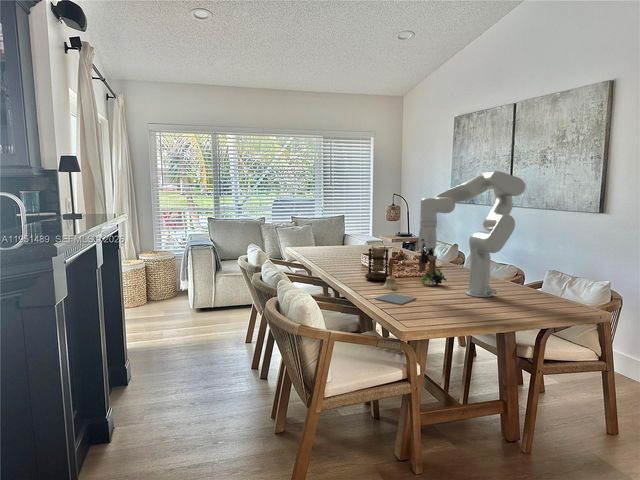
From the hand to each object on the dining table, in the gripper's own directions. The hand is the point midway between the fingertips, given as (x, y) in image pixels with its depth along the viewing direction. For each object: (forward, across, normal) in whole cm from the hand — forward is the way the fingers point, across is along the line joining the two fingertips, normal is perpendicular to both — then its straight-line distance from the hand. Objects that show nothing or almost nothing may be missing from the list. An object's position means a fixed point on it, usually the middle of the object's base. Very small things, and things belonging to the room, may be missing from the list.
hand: (427, 262), depth 198 cm
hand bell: (+18, -6, -24) cm, 31 cm away
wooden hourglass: (+18, -18, -40) cm, 48 cm away
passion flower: (+18, -28, -10) cm, 35 cm away
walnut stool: (+5, 0, 0) cm, 5 cm away
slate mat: (+17, +12, -9) cm, 23 cm away
